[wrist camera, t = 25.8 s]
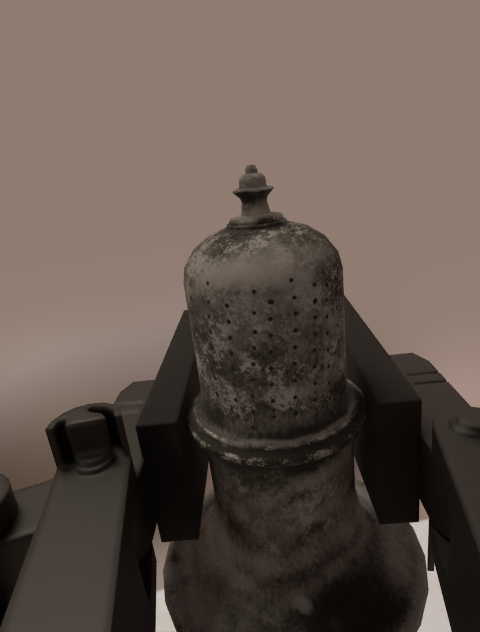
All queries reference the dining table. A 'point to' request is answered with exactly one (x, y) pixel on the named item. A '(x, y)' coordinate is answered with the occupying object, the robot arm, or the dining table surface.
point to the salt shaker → (282, 446)
